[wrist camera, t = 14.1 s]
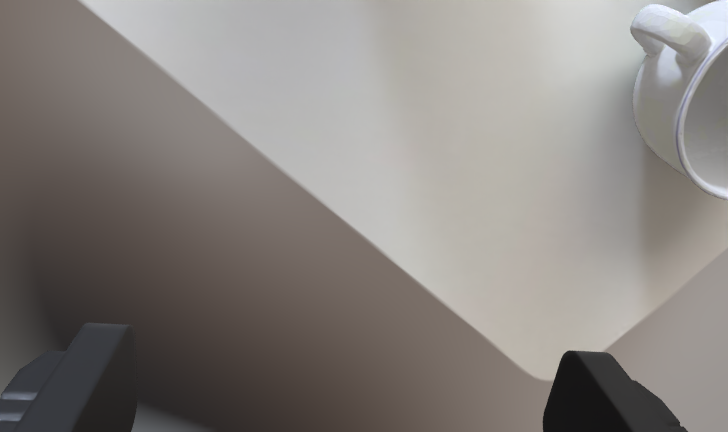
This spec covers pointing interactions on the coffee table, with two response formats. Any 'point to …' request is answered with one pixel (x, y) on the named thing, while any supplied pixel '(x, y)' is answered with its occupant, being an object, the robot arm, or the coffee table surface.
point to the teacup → (685, 90)
